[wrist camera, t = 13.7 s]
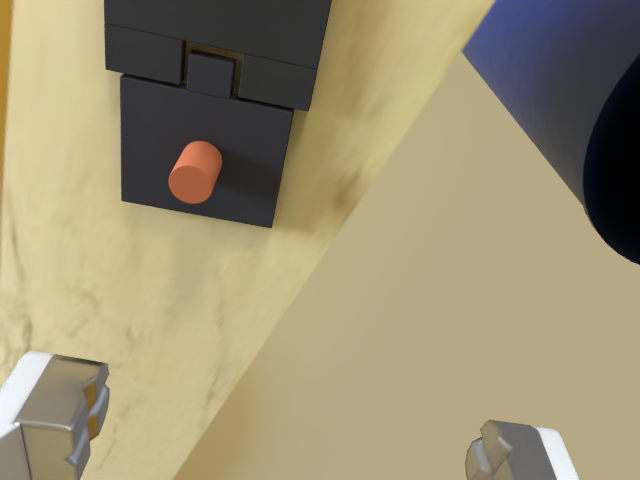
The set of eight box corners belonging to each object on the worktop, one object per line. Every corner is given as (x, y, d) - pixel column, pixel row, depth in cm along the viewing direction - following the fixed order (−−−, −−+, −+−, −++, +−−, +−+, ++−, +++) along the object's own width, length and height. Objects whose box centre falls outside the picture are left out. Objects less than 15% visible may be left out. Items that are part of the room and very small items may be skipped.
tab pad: (300, 72, 36) (296, 98, 32) (272, 220, 43) (266, 258, 39) (125, 34, 35) (96, 55, 30) (126, 193, 42) (102, 229, 37)
